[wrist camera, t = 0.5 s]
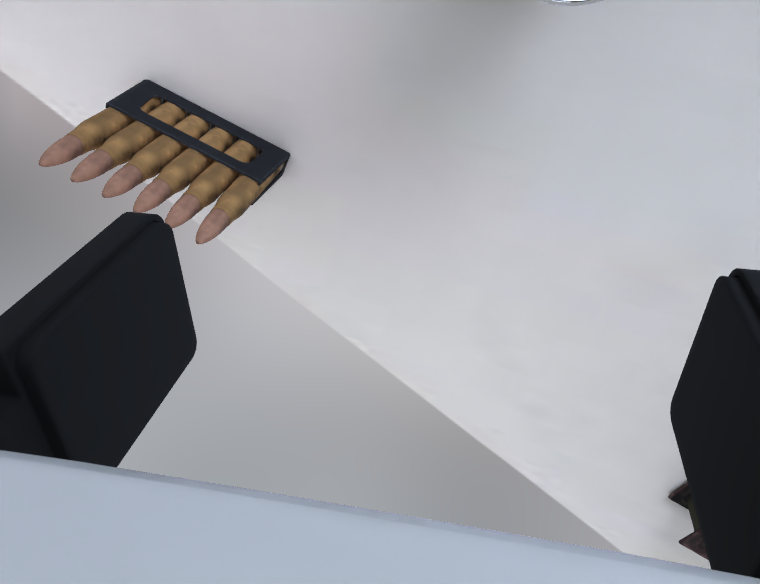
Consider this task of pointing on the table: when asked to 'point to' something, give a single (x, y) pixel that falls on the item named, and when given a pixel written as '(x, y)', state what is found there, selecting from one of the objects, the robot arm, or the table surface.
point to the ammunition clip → (172, 157)
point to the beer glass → (570, 2)
